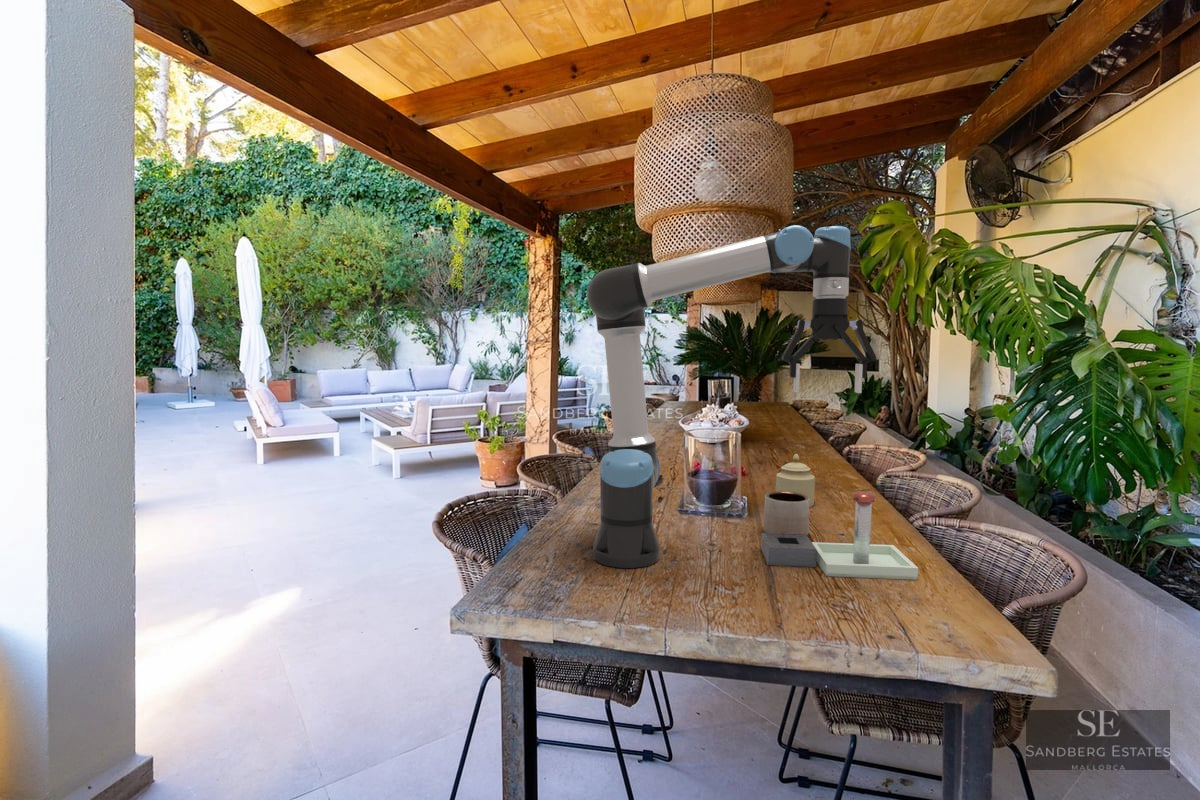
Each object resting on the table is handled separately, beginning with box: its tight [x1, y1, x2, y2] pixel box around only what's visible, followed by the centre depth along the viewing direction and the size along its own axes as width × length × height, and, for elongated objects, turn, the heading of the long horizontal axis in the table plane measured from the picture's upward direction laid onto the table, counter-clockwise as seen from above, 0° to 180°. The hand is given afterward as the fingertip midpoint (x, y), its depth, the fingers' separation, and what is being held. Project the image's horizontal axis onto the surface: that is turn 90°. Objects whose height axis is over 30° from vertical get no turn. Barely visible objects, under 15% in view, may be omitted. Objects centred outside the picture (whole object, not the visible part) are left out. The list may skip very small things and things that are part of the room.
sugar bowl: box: [775, 453, 816, 508], centre depth 185 cm, size 15×11×15 cm
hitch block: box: [760, 532, 817, 568], centre depth 138 cm, size 10×10×4 cm
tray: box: [811, 541, 919, 581], centre depth 133 cm, size 18×14×2 cm
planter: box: [763, 491, 810, 536], centre depth 155 cm, size 11×11×10 cm
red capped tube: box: [852, 491, 876, 564], centre depth 133 cm, size 4×4×15 cm
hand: (826, 392), depth 140 cm, fingers open, 13 cm apart
